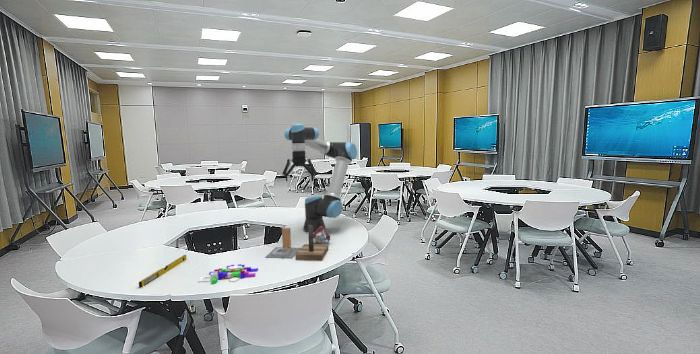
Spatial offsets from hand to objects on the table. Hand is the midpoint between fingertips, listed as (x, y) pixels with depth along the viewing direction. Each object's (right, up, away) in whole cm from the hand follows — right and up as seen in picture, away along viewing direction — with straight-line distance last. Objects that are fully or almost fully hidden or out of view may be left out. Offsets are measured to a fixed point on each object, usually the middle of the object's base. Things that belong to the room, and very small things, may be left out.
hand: (300, 186), depth 200 cm
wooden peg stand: (+9, -37, -16) cm, 41 cm away
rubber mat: (-8, -37, -12) cm, 39 cm away
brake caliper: (+12, -35, +2) cm, 37 cm away
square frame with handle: (-7, -36, -11) cm, 39 cm away
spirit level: (-60, -41, -35) cm, 81 cm away
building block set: (-28, -41, -39) cm, 63 cm away
